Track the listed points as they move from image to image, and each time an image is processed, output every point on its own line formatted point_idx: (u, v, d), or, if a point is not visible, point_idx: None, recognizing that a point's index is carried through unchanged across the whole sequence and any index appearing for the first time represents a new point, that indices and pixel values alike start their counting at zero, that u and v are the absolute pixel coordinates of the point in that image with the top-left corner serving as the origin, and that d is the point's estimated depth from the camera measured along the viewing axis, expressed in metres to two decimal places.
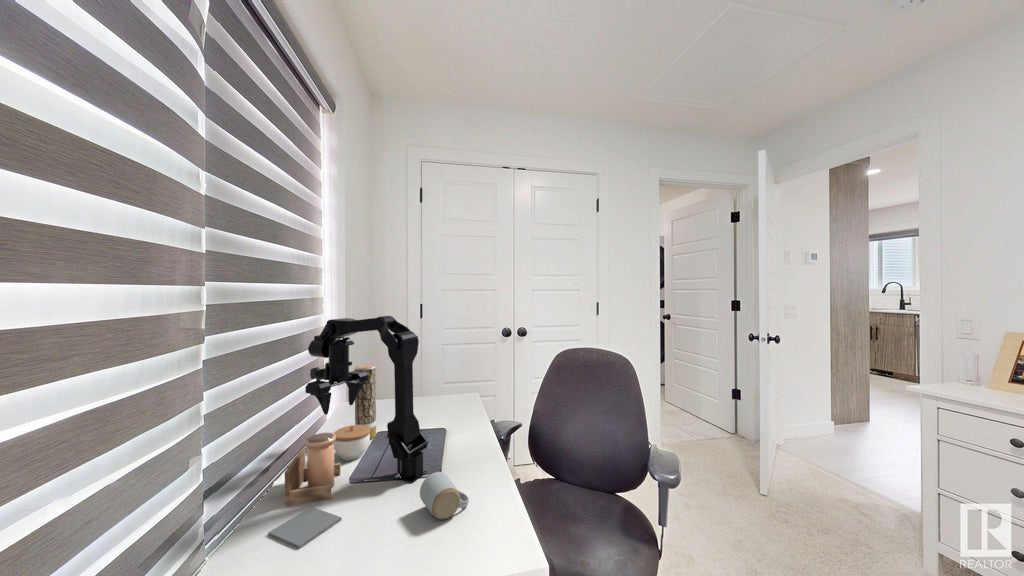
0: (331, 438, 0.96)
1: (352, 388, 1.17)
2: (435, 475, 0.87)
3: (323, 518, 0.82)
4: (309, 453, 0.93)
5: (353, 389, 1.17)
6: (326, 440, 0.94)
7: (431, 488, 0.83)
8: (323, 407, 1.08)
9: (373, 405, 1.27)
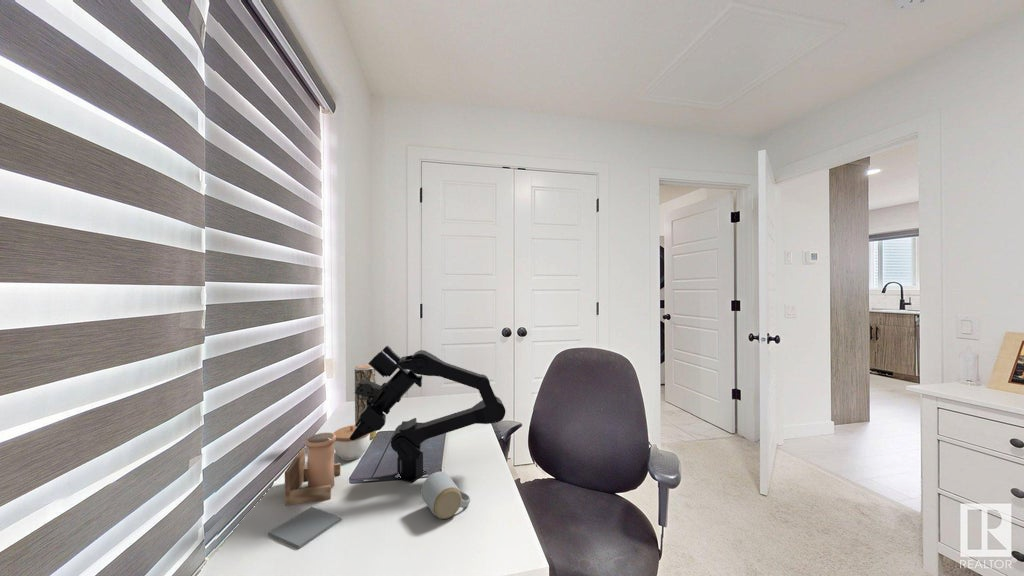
0: (331, 438, 0.96)
1: None
2: (436, 475, 0.87)
3: (323, 518, 0.82)
4: (309, 453, 0.93)
5: None
6: (326, 440, 0.94)
7: (432, 488, 0.83)
8: (357, 433, 0.93)
9: None
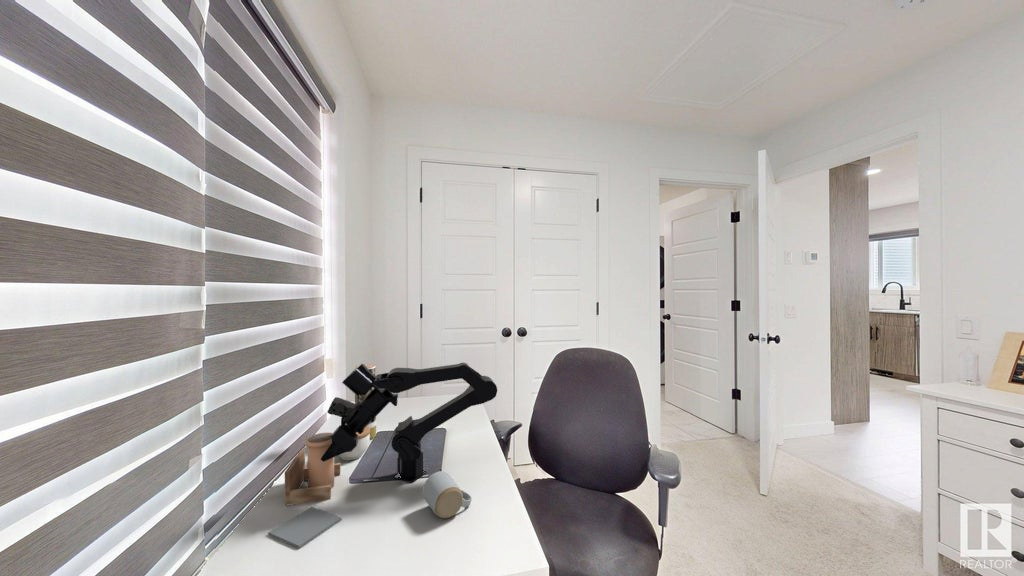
0: None
1: None
2: (438, 474, 0.87)
3: (323, 518, 0.82)
4: (309, 453, 0.93)
5: None
6: (326, 440, 0.94)
7: (434, 487, 0.84)
8: (328, 454, 0.92)
9: None
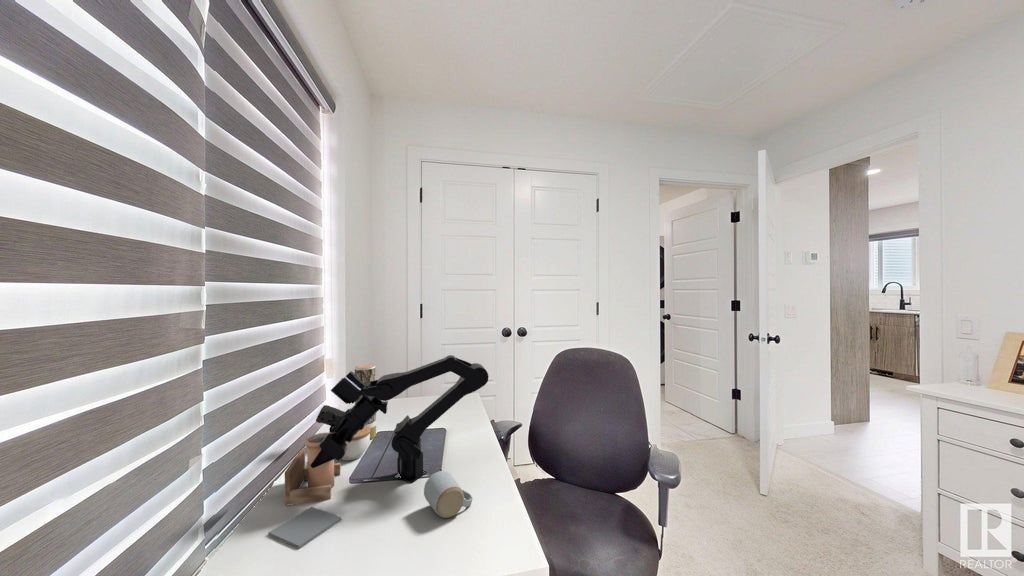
0: None
1: None
2: (439, 474, 0.87)
3: (323, 518, 0.82)
4: (309, 453, 0.93)
5: None
6: None
7: (435, 487, 0.84)
8: (317, 461, 0.92)
9: None
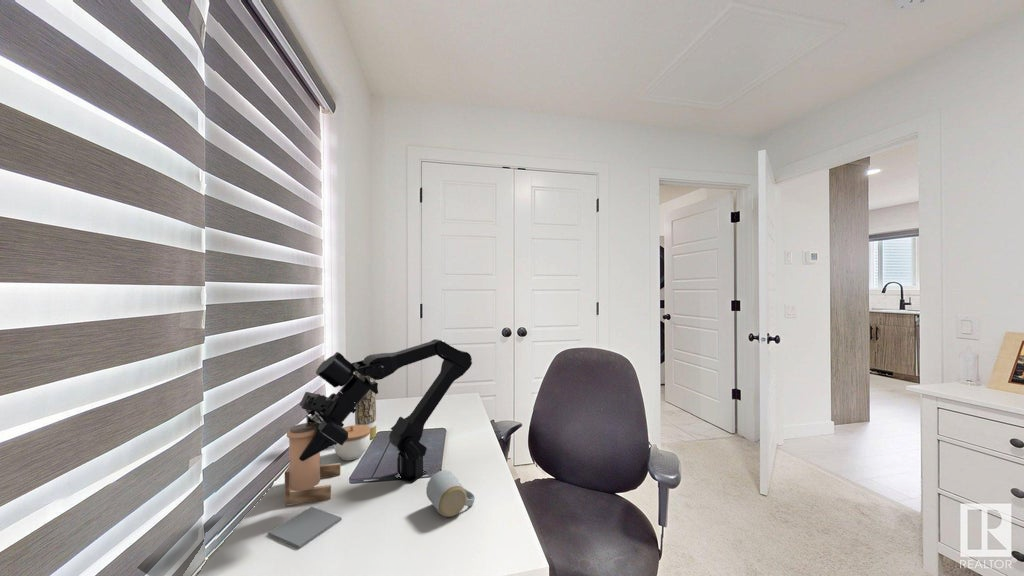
0: None
1: None
2: (441, 473, 0.88)
3: (323, 518, 0.82)
4: (295, 445, 0.82)
5: None
6: None
7: (437, 486, 0.84)
8: (309, 452, 0.82)
9: (373, 405, 1.27)
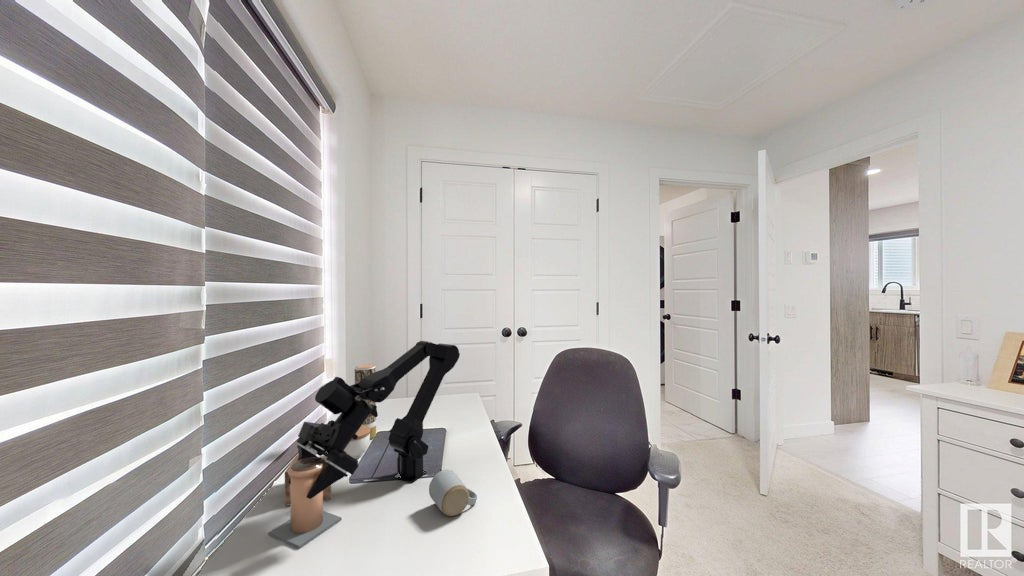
0: None
1: None
2: (444, 472, 0.88)
3: (323, 518, 0.82)
4: (300, 485, 0.77)
5: None
6: (320, 464, 0.80)
7: (440, 485, 0.84)
8: (318, 488, 0.77)
9: None
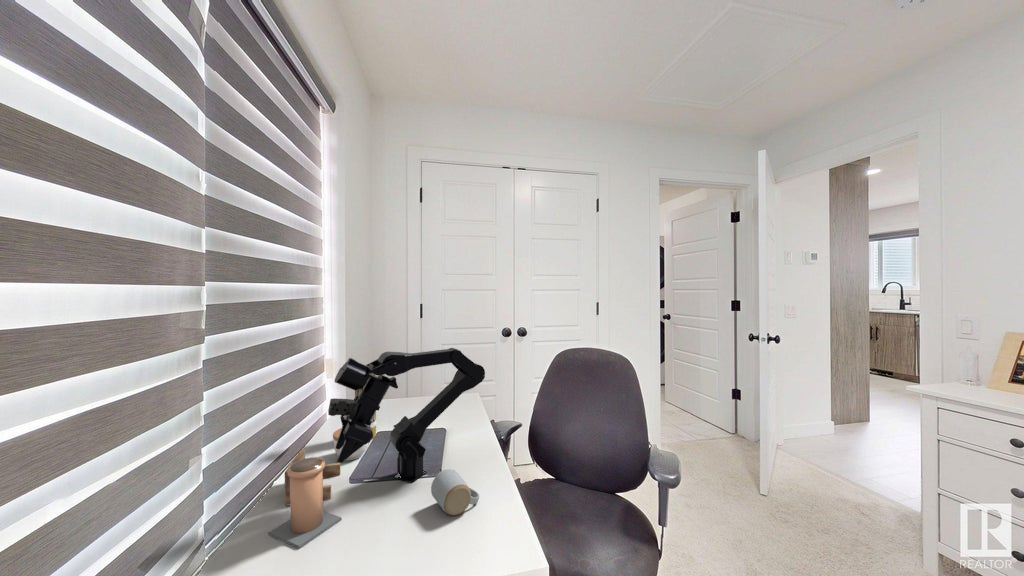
0: (322, 461, 0.81)
1: None
2: (446, 472, 0.88)
3: (323, 518, 0.82)
4: (300, 485, 0.77)
5: None
6: (320, 464, 0.80)
7: (442, 485, 0.85)
8: (344, 454, 0.88)
9: None
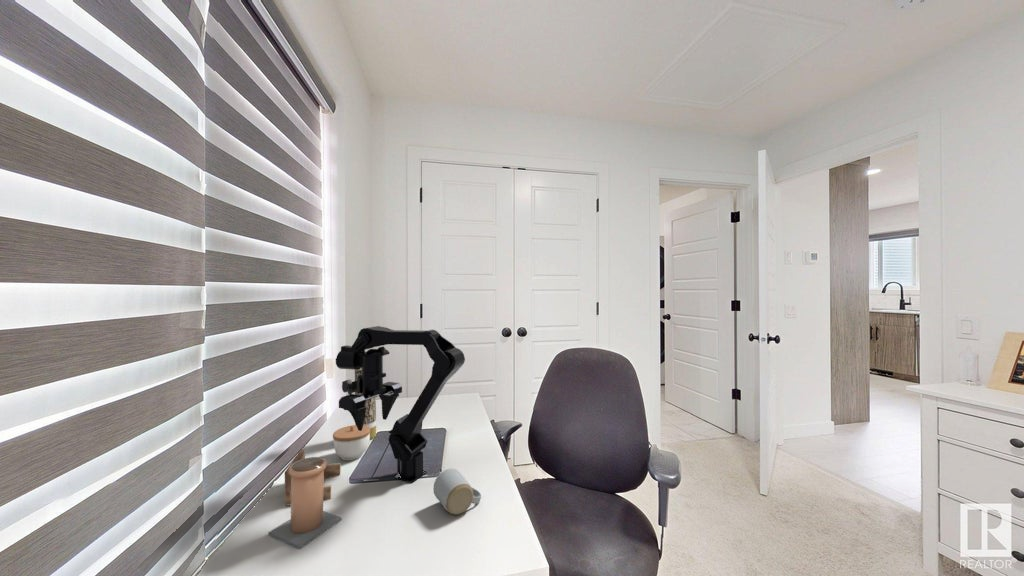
0: (324, 461, 0.81)
1: (386, 401, 1.09)
2: (448, 471, 0.89)
3: (323, 518, 0.82)
4: (302, 485, 0.77)
5: (387, 402, 1.09)
6: (322, 464, 0.80)
7: (444, 484, 0.85)
8: (357, 423, 1.00)
9: (373, 405, 1.27)
